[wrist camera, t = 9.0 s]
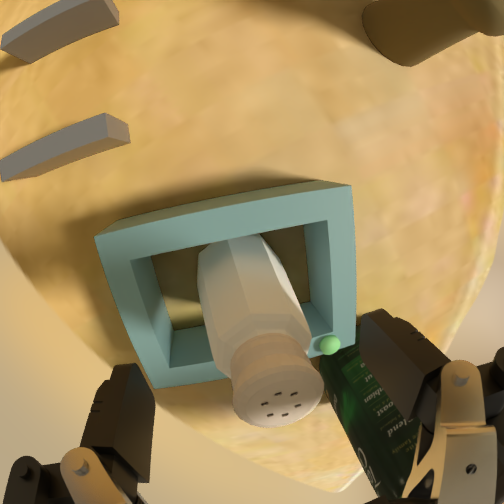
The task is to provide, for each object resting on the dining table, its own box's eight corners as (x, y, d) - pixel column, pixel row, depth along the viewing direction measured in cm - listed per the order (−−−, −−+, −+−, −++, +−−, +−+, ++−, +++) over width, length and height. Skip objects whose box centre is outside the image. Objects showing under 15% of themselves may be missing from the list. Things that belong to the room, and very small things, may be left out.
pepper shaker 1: (181, 244, 17) (152, 366, 6) (267, 217, 17) (361, 298, 7) (211, 319, 18) (225, 464, 8) (288, 293, 19) (365, 417, 8)
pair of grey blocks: (31, 50, 10) (2, 34, 7) (118, 11, 11) (102, -18, 7) (37, 176, 14) (1, 182, 10) (130, 143, 14) (108, 136, 10)
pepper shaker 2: (384, 70, 15) (506, 33, 5) (348, 3, 13) (440, -67, 3) (433, 64, 15) (537, 43, 5) (402, 4, 13) (491, -39, 3)
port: (117, 220, 15) (90, 239, 11) (320, 180, 17) (355, 186, 13) (160, 350, 19) (153, 393, 14) (330, 313, 20) (357, 347, 16)
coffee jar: (303, 346, 20) (423, 568, 3) (390, 301, 21) (554, 454, 3) (329, 410, 24) (407, 562, 6) (397, 372, 24) (498, 499, 6)
